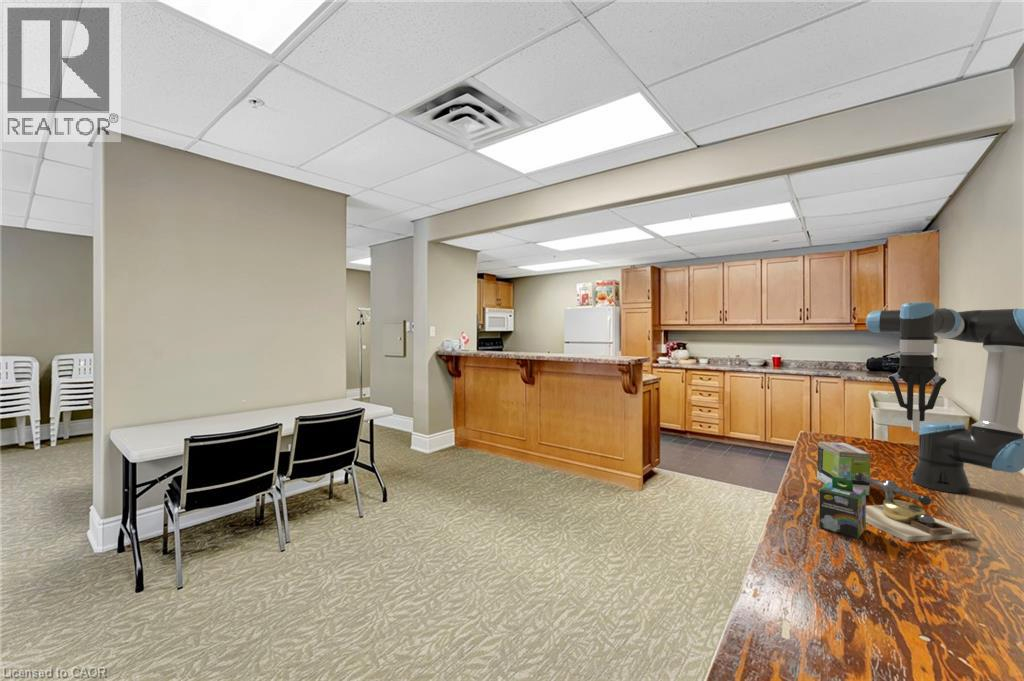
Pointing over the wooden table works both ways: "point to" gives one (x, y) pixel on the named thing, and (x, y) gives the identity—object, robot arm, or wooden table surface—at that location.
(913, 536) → the stand board
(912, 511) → the capstan
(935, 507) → the wooden table surface
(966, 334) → the robot arm
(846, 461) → the tea box
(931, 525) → the ball
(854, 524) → the chalk box
